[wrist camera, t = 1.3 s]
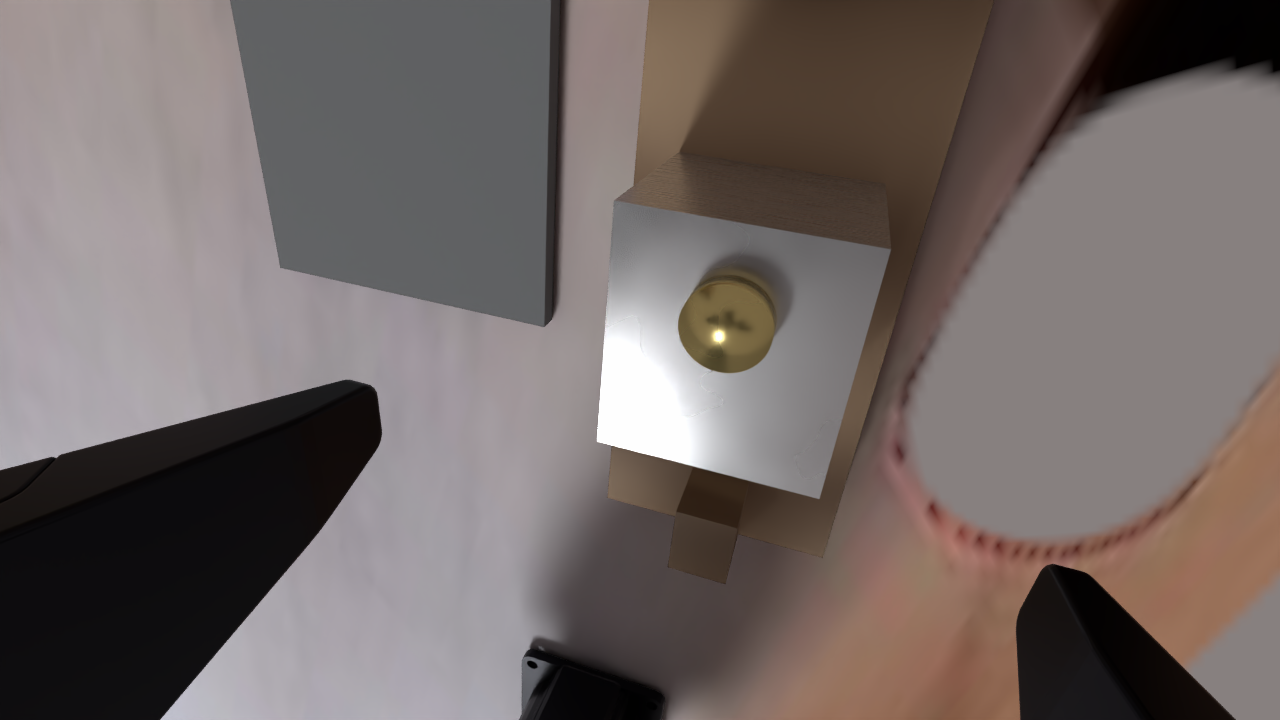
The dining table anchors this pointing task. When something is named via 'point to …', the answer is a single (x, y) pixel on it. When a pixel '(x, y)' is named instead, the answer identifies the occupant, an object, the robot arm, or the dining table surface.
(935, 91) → the plane body
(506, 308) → the mat
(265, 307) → the dining table surface
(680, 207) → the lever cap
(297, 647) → the dining table surface
